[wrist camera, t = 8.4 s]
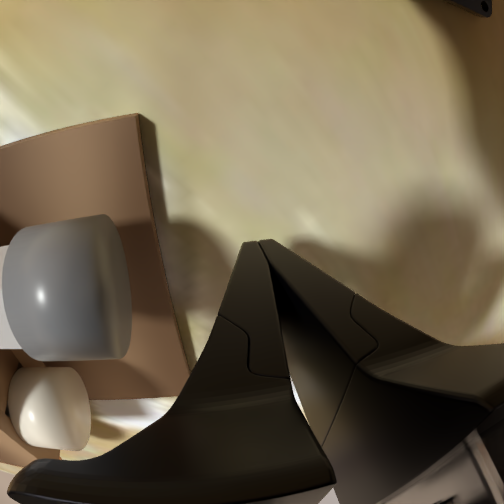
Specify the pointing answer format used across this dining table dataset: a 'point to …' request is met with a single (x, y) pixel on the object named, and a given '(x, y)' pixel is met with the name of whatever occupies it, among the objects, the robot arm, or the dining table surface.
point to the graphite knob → (66, 291)
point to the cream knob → (50, 407)
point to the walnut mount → (134, 244)
